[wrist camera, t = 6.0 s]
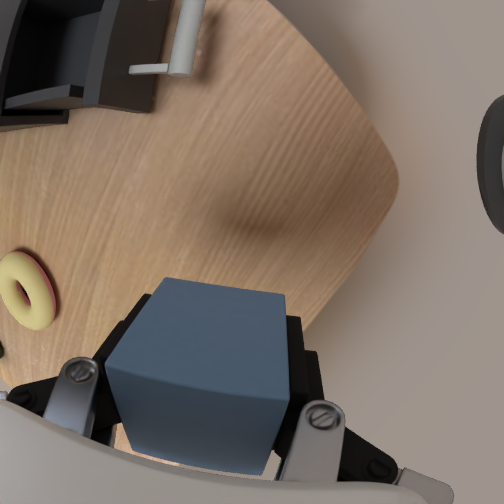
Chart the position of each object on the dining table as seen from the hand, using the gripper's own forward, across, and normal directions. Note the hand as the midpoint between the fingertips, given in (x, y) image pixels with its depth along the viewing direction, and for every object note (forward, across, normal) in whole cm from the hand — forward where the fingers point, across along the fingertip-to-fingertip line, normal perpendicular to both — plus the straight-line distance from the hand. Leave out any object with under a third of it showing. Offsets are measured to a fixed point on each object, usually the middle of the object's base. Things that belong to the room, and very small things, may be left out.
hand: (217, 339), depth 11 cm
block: (0, 0, 0) cm, 0 cm away
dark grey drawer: (+13, +13, -15) cm, 24 cm away
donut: (+14, +25, +10) cm, 30 cm away
